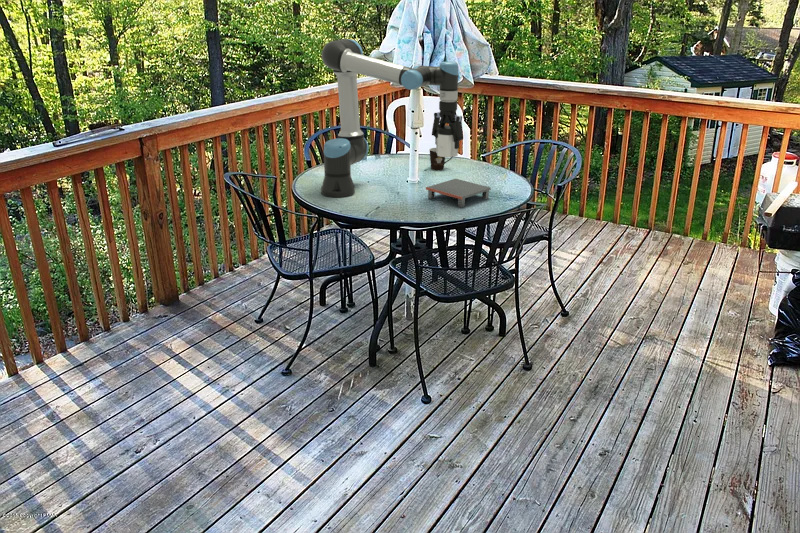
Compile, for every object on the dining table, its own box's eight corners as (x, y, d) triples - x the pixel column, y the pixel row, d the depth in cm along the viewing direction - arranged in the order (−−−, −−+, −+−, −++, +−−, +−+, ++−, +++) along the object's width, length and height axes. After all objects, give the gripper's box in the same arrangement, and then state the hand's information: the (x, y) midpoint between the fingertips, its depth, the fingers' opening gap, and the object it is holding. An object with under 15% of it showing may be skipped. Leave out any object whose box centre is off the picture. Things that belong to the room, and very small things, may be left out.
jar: (432, 155, 282) (433, 127, 278) (441, 151, 289) (442, 124, 284) (451, 158, 278) (452, 129, 274) (459, 154, 285) (460, 126, 280)
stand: (425, 198, 292) (425, 187, 290) (455, 189, 305) (455, 178, 303) (460, 208, 279) (461, 197, 277) (490, 198, 293) (490, 187, 291)
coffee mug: (427, 170, 335) (427, 150, 331) (431, 166, 343) (431, 147, 339) (449, 172, 332) (450, 152, 328) (453, 168, 340) (453, 148, 336)
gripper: (423, 98, 279) (422, 151, 288) (462, 104, 265) (460, 160, 274) (435, 96, 284) (434, 149, 293) (473, 102, 270) (471, 157, 279)
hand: (446, 154), depth 283 cm, fingers closed on jar, 8 cm apart
